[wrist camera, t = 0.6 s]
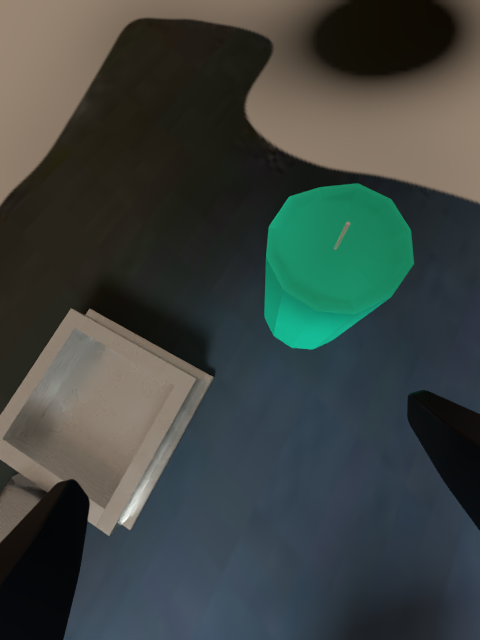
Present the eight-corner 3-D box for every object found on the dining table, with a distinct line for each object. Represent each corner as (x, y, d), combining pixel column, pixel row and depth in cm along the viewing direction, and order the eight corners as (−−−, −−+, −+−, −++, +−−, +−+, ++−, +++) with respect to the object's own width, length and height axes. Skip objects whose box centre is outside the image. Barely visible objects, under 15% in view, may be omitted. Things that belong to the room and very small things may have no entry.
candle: (354, 286, 23) (451, 176, 11) (331, 361, 22) (412, 326, 10) (278, 262, 24) (294, 137, 12) (252, 333, 23) (241, 271, 11)
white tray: (214, 377, 22) (202, 374, 18) (82, 620, 19) (30, 685, 15) (93, 310, 24) (56, 292, 20) (-44, 522, 21) (-123, 555, 17)
